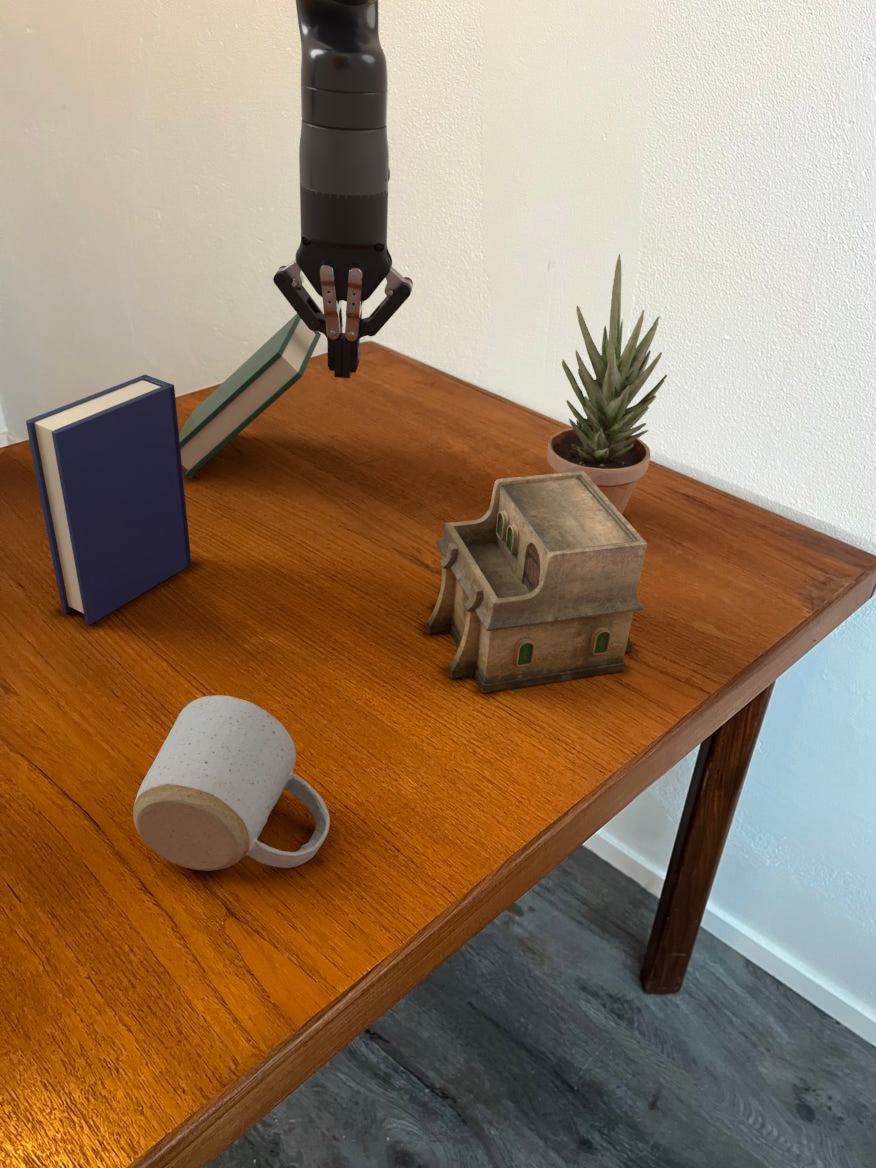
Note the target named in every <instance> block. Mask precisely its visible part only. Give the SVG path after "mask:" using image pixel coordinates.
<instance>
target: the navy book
mask: <svg viewBox="0 0 876 1168" xmlns="http://www.w3.org/2000/svg"><path fill="white" fill-rule="evenodd" d="M175 389H176V388H175V385H174V384H172V383H171V382H170V383H169V382H166V381H164V380H161V379H159V378H156V377H154V376H150V375H148V374H143V375H142V374H141V375H140V376H137V377H135V378H132V379H130V380H127V381H124V382H122V383H119V384H116V385H114V386H112V387H109V388H106V389H104V390H101V391H98V392H96V393H93V394H91V395H88V396H85V397H83V398H81V399H78V400H75V401H73V402H70V403H68V404H65V405H62V406H60V407H57V408H54V409H52V410H50V411H47V412H45V413H42V414H39V415H37V416H34V417H31V418H28V419H26V420H25V425H26V431H27V435H28V441H29V446H30V450H31V455H32V456H31V457H32V461H33V466H34V470H35V471H34V472H35V477H36V481H37V487H38V493H39V497H40V503H41V508H42V513H43V518H44V523H45V529H46V532H47V539H48V544H49V549H50V555H51V559H52V564H53V569H54V570H53V571H54V575H55V581H56V585H57V591H58V595H59V601H60V607H61V611H62V612H63V613H65V614H68V613H70V612H71V611H73V610H75V611H77V612H80V613H82V614H83V619H84V623H85V624H87V625H89V626H90V625H92V624H94V623H96V622H97V621H99V620H100V619H103V618H105V616H107V615H109V614H111V613H112V612H115V611H116V610H117V609H119V608H120V607H122V606H124V605H126V604H128V603H129V602H131V601H132V600H135V599H136V598H137V597H139V596H141V595H142V594H144V593H146V592H148V591H149V590H150V589H152V588H154V587H156V586H158V585H159V584H161V583H163V582H164V581H166V580H167V579H170V578H171V577H173V576H174V575H176V574H178V573H180V572H181V571H184V569H186V568H188V567H190V566H191V565H192V556H191V545H190V534H189V524H188V513H187V504H186V503H187V502H186V494H185V482H184V472H183V465H182V461H181V450H180V440H179V433H180V430H179V420H178V411H177V409H178V408H177V399H176V390H175Z"/></svg>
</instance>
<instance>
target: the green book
mask: <svg viewBox="0 0 876 1168" xmlns="http://www.w3.org/2000/svg"><path fill="white" fill-rule="evenodd" d="M321 337H322V333H321V332H319V331H312V330H310V329H309V328H308V327H307V326H306V324H305V323H304V322H303V320H302V319H301V318H300V316H299V315H298V314H297V313H296V314H295V315H294V316H293V317H291V319H290V320H288V321H287V322H286V323H285V324H284V325H283V326H281V328H280V329H279V330H278V331H276V332H275V334H274V335H272V336H271V337H270V338H269V339H268V340H267V341H266V342H265V343H264V344H262V346H260V347H259V348H258V349H257V350H256V351H255V352H254V353H253V354H252V355H251V356H250V357H249V358H248V359H246V360H245V361H244V363H243V364H241V365H240V366H239V367H238V368H237V369H236V370H235V371H234V372H233V373H232V374H231V375H230V376H228V377H227V378H226V380H224V381H223V382H222V383H220V384H219V386H218V387H217V388H215V390H214V391H212V392H211V393H210V394H209V395H208V396H207V397H206V398H205V399H204V400H203V401H202V402H201V403H199V404H198V405H197V406H196V407H195V408H194V409H193V411H192V412H191V414H190V415H189V416H188V419H187V420H186V422H185V423H184V425H183V426H182V428H181V430H179V440H180V450H181V461H182V467H184V468H185V469H186V472H185V473H184V476H185V478H187V479H191V477H193V475H194V474H196V473H197V472H198V471H199V470H200V469H201V468H202V467H203V466H204V465H205V464H207V463H208V462H209V461H210V460H211V459H212V458H213V457H214V456H215V455H217V454H218V453H219V452H220V451H221V450H222V449H224V447H225V446H227V445H228V444H229V443H230V442H231V441H232V440H234V438H236V437H237V436H238V435H239V434H240V433H241V432H243V430H245V429H246V428H247V427H248V426H249V425H250V424H251V423H252V422H254V421H255V420H256V419H257V418H258V417H259V416H260V415H261V414H262V413H263V412H265V411H266V410H267V409H268V408H269V407H270V406H271V405H273V404H274V403H275V402H276V401H277V400H278V399H279V398H280V397H281V396H283V395H284V394H285V393H286V392H287V391H288V390H289V389H290V388H292V386H294V385H295V384H296V383H297V382H298V381H299V380H301V378H303V376H304V373H306V370H307V367H308V365H309V363H310V360H311V358H312V356H313V354H314V352H315V349H316V348H317V345H318V343H319V341H320V339H321Z"/></svg>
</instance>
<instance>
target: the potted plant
mask: <svg viewBox="0 0 876 1168" xmlns="http://www.w3.org/2000/svg"><path fill="white" fill-rule="evenodd" d="M621 259H622V258H621V253H619V254H618V257H617V260H616V264H615V269H614V277H613V284H612V289H611V301H610V311H609V312H610V315H609V328H608V329H609V330H607V326H606V325H604V327H603V332H602V333H603V335H602V340H601V353H600V351H599V350H598V348H597V346H596V344H595V342H594V340H593V338H592V336H591V334H590V331H589V328H588V326H587V323H586V321H585V319H584V316H583V314H582V311H581V309H580V306H579V305H576V316H577V321H578V325H579V329H580V331H581V336H582V338H583V341H584V345H585V349H586V352H587V355H588V358H589V360H590V364H591V367H592V369H593V373H594V375H595V379H594V377H593V375H592V374H591V373H590V372H589V370H588V368H587V367H586V364H585V363H584V361H583V359H582V357H581V355H580V353H579V352H578V350H577V349H575V358H576V362H577V366H578V369H577V374H578V377H579V379H580V382H581V384H582V386H583V388H584V390H585V392H586V395H587V396H586V395H584V393H583V390H582V389H581V387H580V386H579V384H578V382H577V379H576V378H575V375H574V374H573V372H572V370H571V369H570V367H569V366H568V364H567V363H566V360H565V359H562V362H561V366H562V369H563V372H564V373H565V375H566V378H567V380H568V382H569V384H570V386H571V388H572V390H573V392H574V395H575V396H576V398H577V399H578V401H579V403H580V405H581V408H582V410H583V412H584V414H585V415H586V418H585V417H584V416H583V415H582V414H581V413H580V412H579V411H578V409H577V408H576V407H575V406H574V405H573V404H572V403H571V402H570V400H568V399H566V401H565V402H566V404H567V406H568V409H569V410H570V411H571V413H572V415H573V416H574V417H575V418H576V423H575V421H574V420H572V419H571V418H568V421H569V424H570V426H571V427H567V428H565V429H562V430H559V431H557V432H555V433H554V434H552V435H551V436H550V438H549V440H548V441H547V454H546V455H547V456H546V458H547V463H548V464H549V465H550V467H551V469H552V472H553V473H552V474H558V473H569V472H580V471H584V472H585V473H586V474H587V476H588V477H589V478H590V479H591V480H592V481H593V482H594V484H595V485H596V486H597V487H598V488H599V489H600V490H601V492H602V493H603V494H604V495H605V496H606V497H607V498H608V499H609V501H610V502H611V503H612V504H613V505H614V506H615V507H616V509H617V510H618V511H619V512H620V513H621V514H622V515H623V514H624V511H625V509H626V508H627V505H628V503H629V501H630V499H631V497H632V495H633V493H634V491H635V489H636V487H637V485H638V482H639V480H640V479H641V478H642V477H644V476H645V474H646V473H647V471H648V469H649V464H650V460H651V450H650V447H649V445H647V443H645V441H643V440H642V439H640V438H641V437H642V436H643V435H644V434H646V433H648V432H649V429H645V430H642V428H643V427H645V426H646V425H647V423H646V422H644V423H641V424H639V425H637V426H635V425H636V424H637V423H638V422H639V421H640V420H641V419H642V417H643V416H644V415H645V414H646V413H647V412H648V410H649V409H650V407H649V406H650V405H651V404H652V403H653V402H654V401H655V399H656V398H657V395H656V393H657V392H658V391H659V390H660V388H662V386H663V384H664V383H665V380H666V379H667V378H668V374H665V375H664V376H663V377H662V378H661V379H660V381H658V383H656V385H655V386H654V387H653V388H652V389H651V390H649V392H647V393H646V394H645V395H644V396H643V397H642V399H640V401H639V402H637V403H636V404H634V405H632V406H629V405H630V404H631V403H632V401H634V399H635V397H636V396H637V395H638V393H639V392H640V390H641V389H642V387H643V386H644V385H645V383H646V382H647V380H648V379H649V377H650V376H651V374H652V373H653V371H654V369H655V368H656V366H657V364H658V363H659V361H660V359H661V357H662V354H663V351H660V352H659V354H657V356H656V357H655V358H654V359H653V360H652V361H651V362H650V364H649V365H648V366H647V364H648V362H649V360H650V355H651V350H649V349H650V347H651V344H652V342H653V341H654V337H655V335H656V333H657V329H658V326H659V320H660V318H661V316H658V315H657V317H656V319H655V320H654V321H653V324H652V325H651V327H650V328H649V330H648V331H647V332H646V334H645V335H644V336H643V338H642V340H640V342H639V339H640V335H641V332H642V331H641V330H642V326H643V323H644V317H645V309H643V310H642V311H641V314H640V315H639V317H638V319H637V321H636V324H635V326H634V327H633V330H632V332H631V335H630V337H629V338H628V340H627V343H626V345H625V347H624V349H623V351H622V342H623V328H624V327H623V325H624V322H623V319H621V313H622V312H621V311H622V260H621ZM638 342H639V343H638ZM646 367H647V368H646ZM641 430H642V431H641ZM639 431H640V432H639ZM637 432H638V433H637Z"/></svg>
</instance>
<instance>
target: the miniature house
mask: <svg viewBox="0 0 876 1168" xmlns="http://www.w3.org/2000/svg"><path fill="white" fill-rule="evenodd" d="M489 503H490V504H489V508H488V510H487V512H486V513H485V514H483V516H481V517H480V518H477V519H473V520H461V521H453V522H445V523H444V529H443V530H444V531H443V533H442V536H441V537H440V538H439V539H436V540H435V544H436V546H437V548H438V549H439V551H440V553H441V555H442V559H441V560H440V561H439V564H440V566H441V575H440V576H441V579H440V589H439V594H438V597H437V600H436V603H435V605H434V608H433V610H432V613H431V615H430V617H429V618H428V619H427V620H426V630H427V632H428V634H429V635H436V634H444V633H450V635H451V637H452V639H453V640H454V642H455V645H456V647H457V648H458V649H457V651H456V654H455V656H454V658H453V660H452V661H451V663H449V664H448V675H449V677H450V679H451V680H458V679H463V678H471V677H472V678H474V680H475V683H476V685H477V686H478V688H479V690H480V692H481V693H482V694H491V693H497V692H505V691H511V690H517V689H522V688H530V687H537V686H542V685H547V684H554V683H560V682H561V683H562V682H568V681H573V680H580V679H586V678H587V679H588V678H592V677H598V676H599V677H600V676H604V675H611V674H617V673H622V672H624V671H625V665H626V662H625V654H627V653H631V652H632V648H633V642H632V641H631V638H630V631H631V627H632V626H631V625H632V620H633V615H634V612H636V611H643V610H644V608H645V607H644V606H643V604H642V603H641V602H640V600H639V597H638V592H639V591H638V590H639V586H640V581H641V576H642V571H643V567H644V561H645V557H646V551H647V547H648V543H647V541H646V540H645V539H644V538H643V537H642V535H641V534H640V533H639V532H638V531H637V530H636V529H635V528H634V526H633V525H632V524H631V523H630V522H629V521H628V520H627V519H626V518H625V517H624V515H623V514H621V513H620V512H619V511H618V510H617V509H616V507H615V506H614V505H613V504H612V503H611V502H610V501H609V499H608V498H607V497H606V496H605V495H604V494H603V493H602V492H601V490H600V489H599V488H598V487H597V486H596V485H595V484H594V482H593V481H592V480H591V479H590V478H589V477H588V476H587V474H586V473H585V472H584V471H580V472H569V473H558V474H554V473H547V474H537V475H526V476H515V477H504V478H503V477H502V478H497V479H496V480H495V481H494V483H493V488H492V493H491V498H490V502H489Z"/></svg>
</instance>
